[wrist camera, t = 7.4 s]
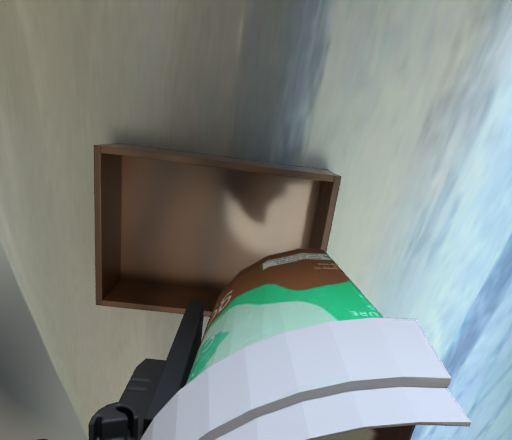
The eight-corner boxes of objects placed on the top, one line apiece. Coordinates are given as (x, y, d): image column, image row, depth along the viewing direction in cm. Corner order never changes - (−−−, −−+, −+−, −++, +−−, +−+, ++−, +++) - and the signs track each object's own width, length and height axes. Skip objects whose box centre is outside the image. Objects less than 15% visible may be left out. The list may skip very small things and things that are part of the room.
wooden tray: (328, 169, 32) (341, 176, 27) (303, 302, 36) (311, 327, 31) (117, 142, 31) (93, 144, 26) (116, 282, 35) (95, 305, 30)
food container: (196, 202, 14) (75, 353, 5) (329, 219, 14) (483, 395, 5) (178, 415, 17) (87, 765, 8) (287, 426, 18) (327, 777, 8)
